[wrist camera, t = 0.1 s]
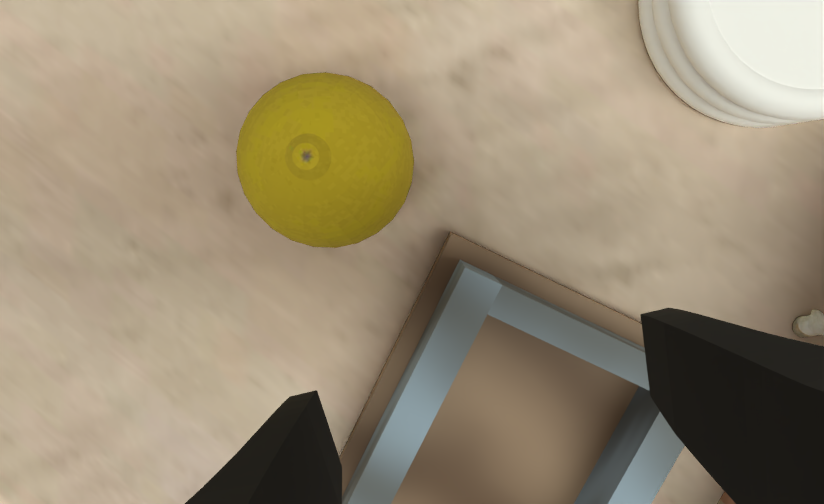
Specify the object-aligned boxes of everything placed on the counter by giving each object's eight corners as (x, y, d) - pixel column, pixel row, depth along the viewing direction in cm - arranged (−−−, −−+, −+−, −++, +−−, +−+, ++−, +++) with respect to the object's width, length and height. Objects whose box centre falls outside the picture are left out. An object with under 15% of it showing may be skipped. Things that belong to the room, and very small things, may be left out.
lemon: (368, 260, 22) (345, 303, 14) (251, 190, 21) (156, 192, 13) (438, 143, 21) (456, 118, 13) (319, 70, 21) (262, -4, 13)
